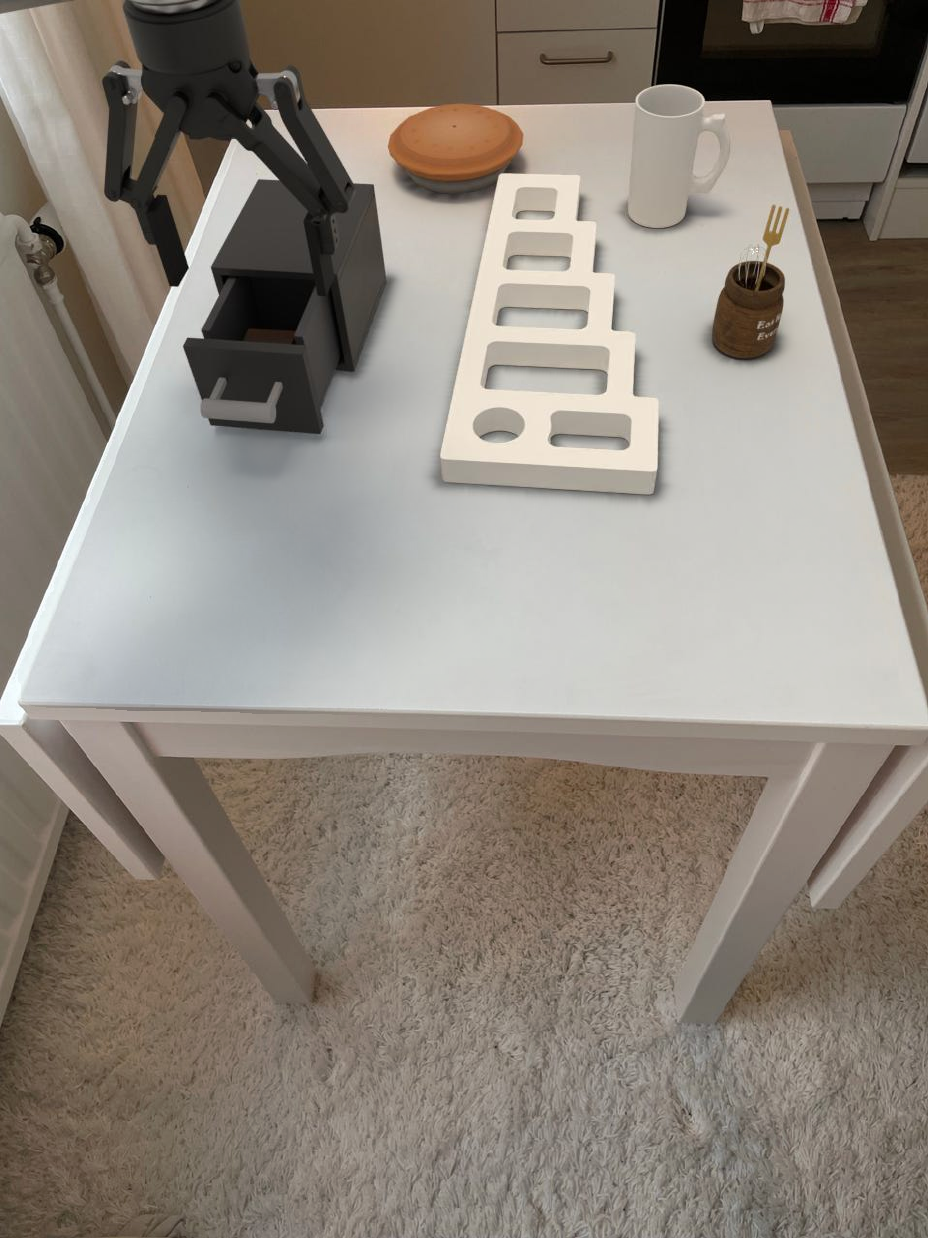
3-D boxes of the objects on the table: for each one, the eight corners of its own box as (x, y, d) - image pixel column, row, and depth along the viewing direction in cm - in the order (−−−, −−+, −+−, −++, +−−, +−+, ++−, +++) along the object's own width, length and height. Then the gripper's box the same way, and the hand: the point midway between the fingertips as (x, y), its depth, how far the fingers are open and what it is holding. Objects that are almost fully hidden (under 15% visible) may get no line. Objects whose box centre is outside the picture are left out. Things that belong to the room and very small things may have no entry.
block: (294, 403, 86) (284, 363, 82) (246, 400, 86) (234, 360, 83) (306, 370, 88) (296, 330, 85) (259, 368, 89) (248, 328, 85)
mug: (620, 226, 103) (631, 114, 94) (629, 193, 107) (640, 81, 97) (715, 235, 101) (735, 121, 92) (720, 201, 105) (740, 88, 96)
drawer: (308, 469, 82) (287, 389, 75) (194, 459, 84) (163, 380, 77) (355, 338, 93) (342, 257, 86) (253, 332, 94) (231, 251, 87)
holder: (499, 196, 108) (499, 173, 106) (660, 200, 106) (663, 176, 104) (441, 481, 82) (439, 458, 80) (653, 494, 80) (657, 471, 78)
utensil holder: (700, 349, 90) (721, 234, 81) (725, 313, 94) (748, 197, 84) (760, 368, 89) (789, 252, 79) (783, 330, 92) (814, 213, 82)
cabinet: (354, 371, 91) (336, 273, 83) (238, 363, 93) (210, 266, 84) (386, 280, 100) (373, 183, 91) (280, 274, 101) (258, 178, 93)
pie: (525, 134, 116) (526, 92, 112) (519, 205, 107) (519, 161, 103) (400, 135, 117) (395, 93, 113) (383, 205, 108) (378, 162, 104)
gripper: (372, -31, 62) (403, 263, 80) (30, -37, 66) (131, 247, 83) (345, 18, 58) (384, 318, 75) (-21, 9, 61) (97, 299, 79)
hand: (252, 281), depth 79 cm, fingers open, 12 cm apart
